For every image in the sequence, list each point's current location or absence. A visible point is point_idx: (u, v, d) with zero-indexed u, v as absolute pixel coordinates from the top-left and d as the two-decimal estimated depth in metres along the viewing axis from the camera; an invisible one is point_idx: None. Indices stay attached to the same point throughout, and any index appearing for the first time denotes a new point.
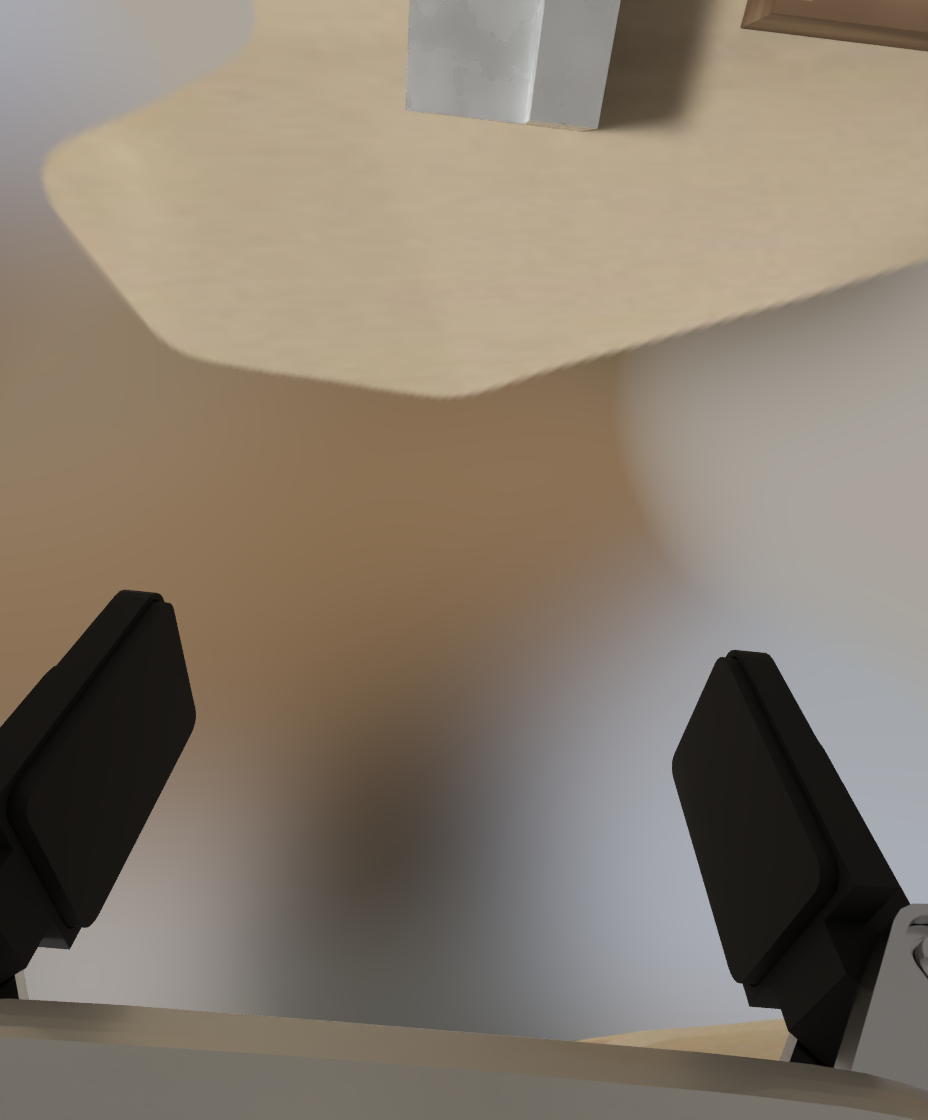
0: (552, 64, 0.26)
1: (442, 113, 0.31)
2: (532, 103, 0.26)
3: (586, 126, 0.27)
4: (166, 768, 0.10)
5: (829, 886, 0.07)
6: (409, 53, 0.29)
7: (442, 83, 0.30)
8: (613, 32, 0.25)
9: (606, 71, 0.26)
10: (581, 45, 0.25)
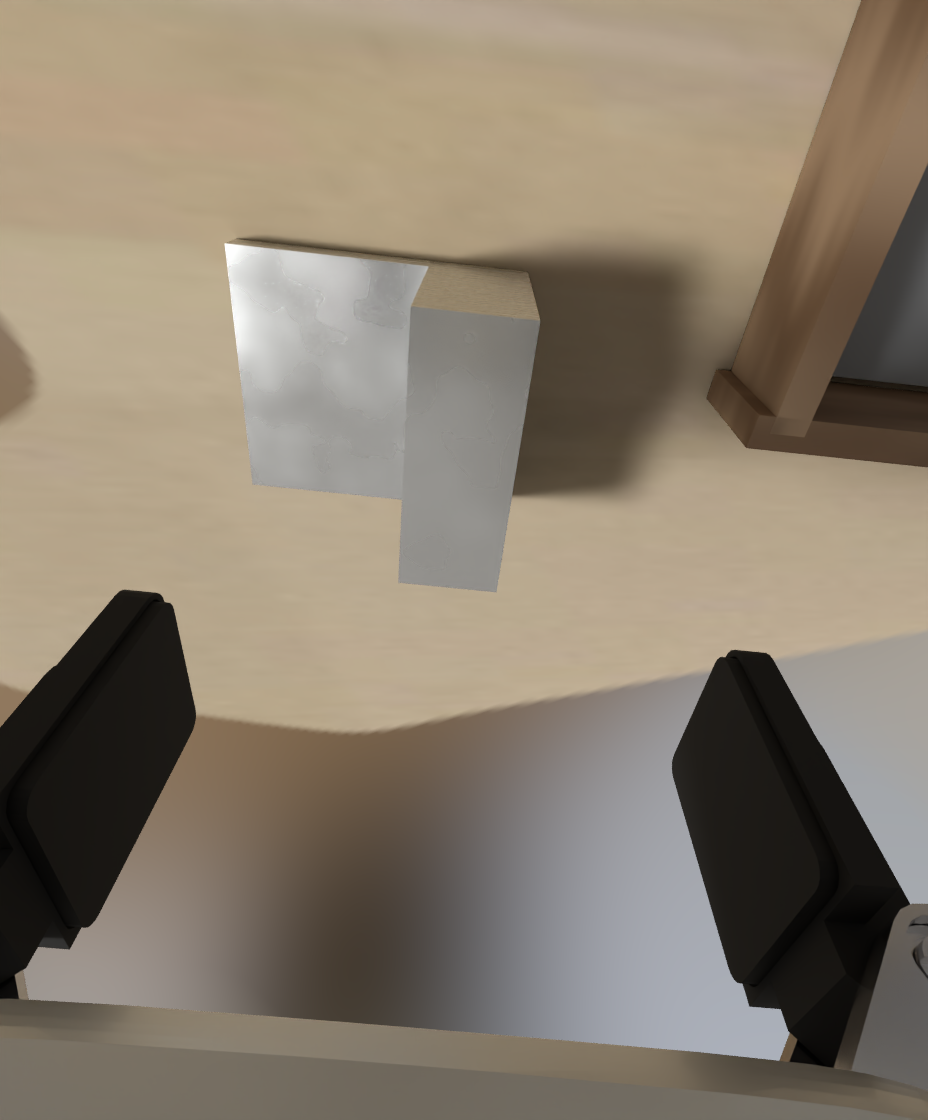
0: (424, 529, 0.17)
1: (303, 487, 0.23)
2: (400, 565, 0.18)
3: (480, 587, 0.19)
4: (166, 768, 0.10)
5: (829, 886, 0.07)
6: (248, 428, 0.21)
7: (298, 459, 0.22)
8: (508, 501, 0.17)
9: (502, 539, 0.18)
10: (463, 512, 0.17)
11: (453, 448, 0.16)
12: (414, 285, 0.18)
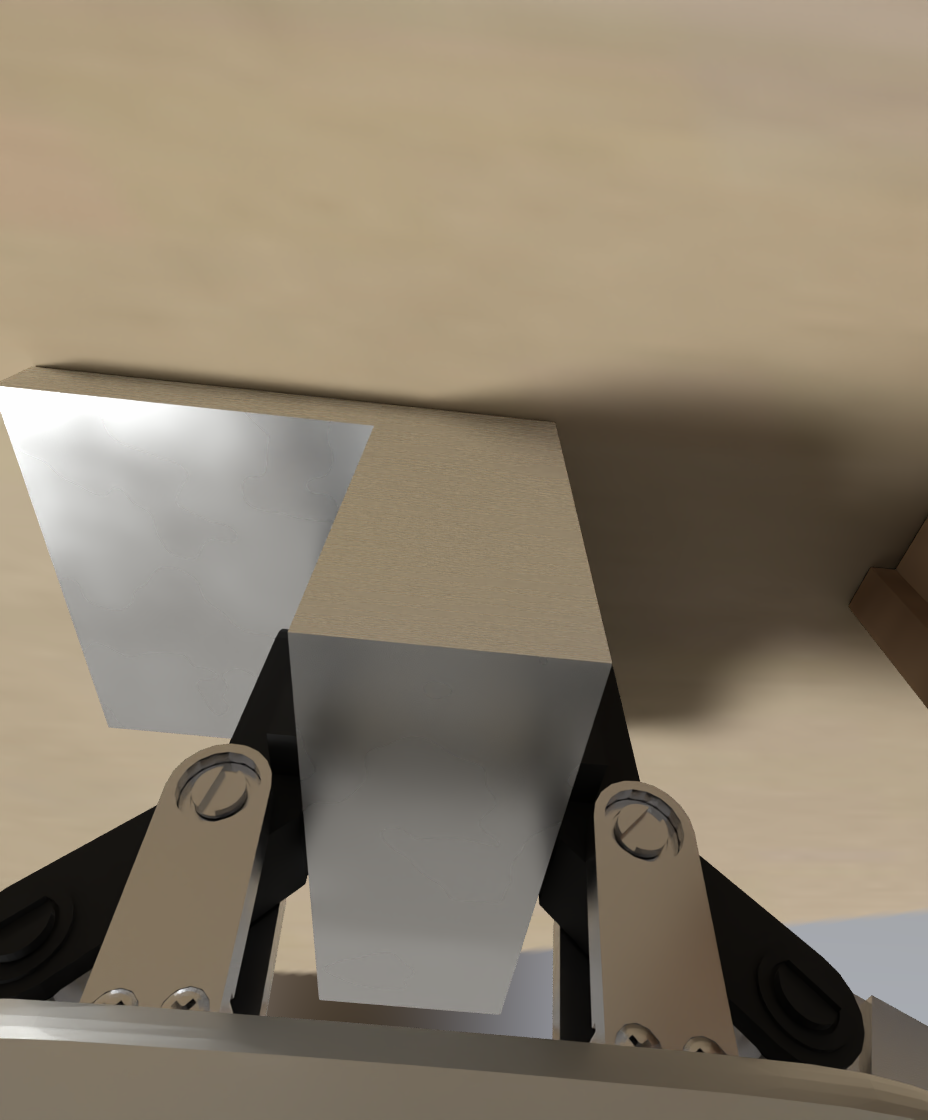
0: (359, 946, 0.09)
1: (190, 730, 0.14)
2: None
3: None
4: None
5: None
6: (89, 656, 0.13)
7: (177, 697, 0.13)
8: (526, 919, 0.08)
9: (513, 961, 0.09)
10: (435, 929, 0.09)
11: (409, 852, 0.08)
12: (349, 455, 0.10)
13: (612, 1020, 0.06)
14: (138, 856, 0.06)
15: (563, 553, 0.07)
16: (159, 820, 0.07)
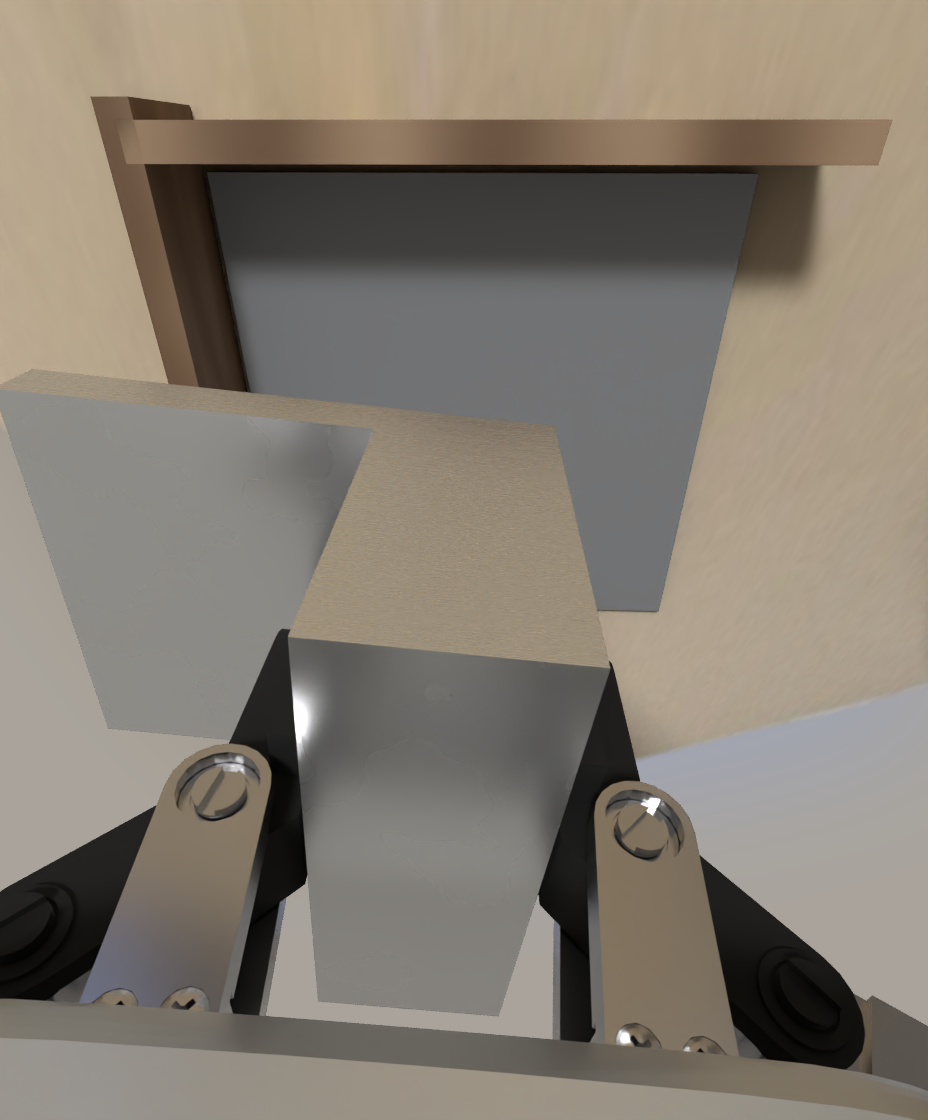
0: (358, 948, 0.09)
1: None
2: None
3: None
4: None
5: None
6: (88, 658, 0.13)
7: (176, 698, 0.13)
8: (524, 922, 0.08)
9: (511, 963, 0.09)
10: (434, 931, 0.09)
11: (408, 855, 0.08)
12: (349, 458, 0.10)
13: (612, 1021, 0.06)
14: (138, 856, 0.06)
15: (562, 557, 0.07)
16: (159, 820, 0.07)
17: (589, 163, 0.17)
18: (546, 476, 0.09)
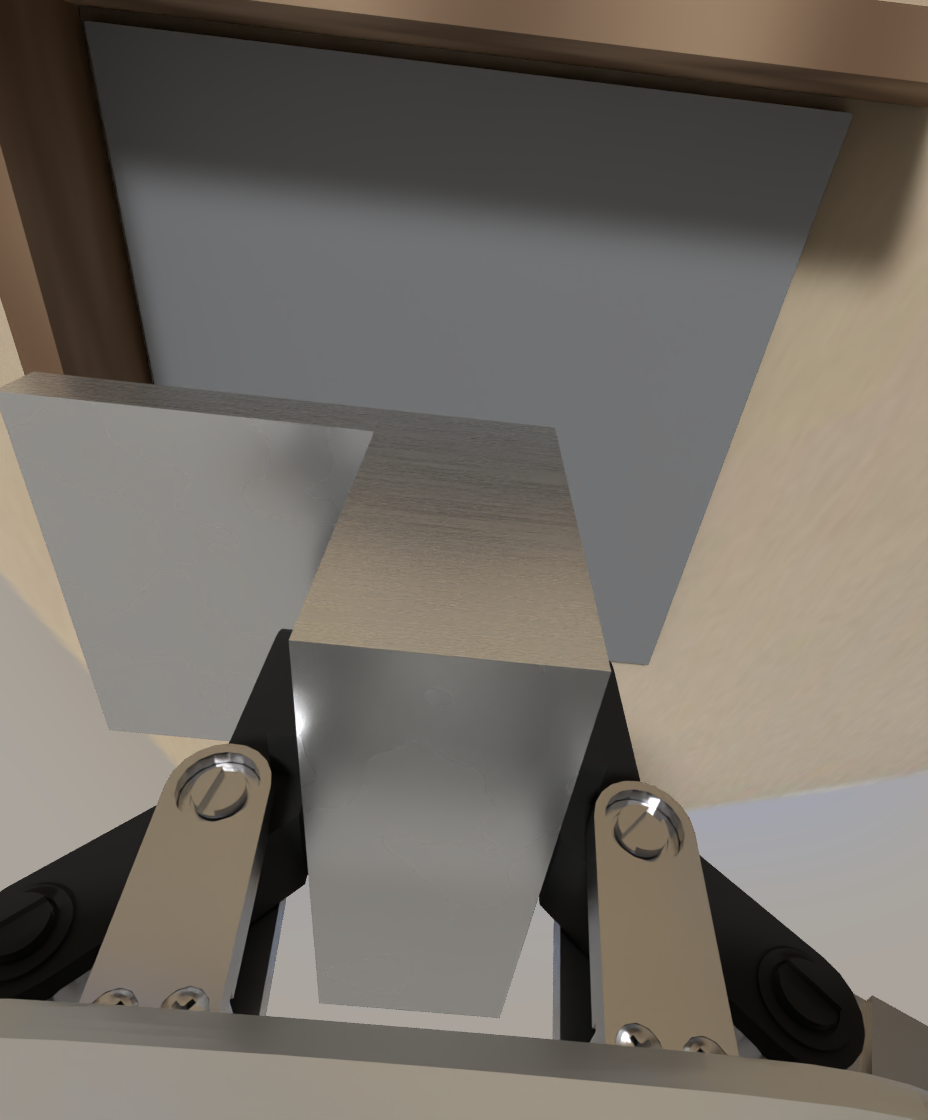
0: (359, 950, 0.09)
1: (191, 733, 0.14)
2: None
3: None
4: None
5: None
6: (90, 660, 0.13)
7: (177, 700, 0.13)
8: (525, 924, 0.08)
9: (512, 965, 0.09)
10: (434, 934, 0.09)
11: (409, 857, 0.08)
12: (350, 461, 0.10)
13: (612, 1021, 0.06)
14: (138, 856, 0.06)
15: (563, 560, 0.07)
16: (159, 820, 0.07)
17: (635, 45, 0.11)
18: (547, 478, 0.09)
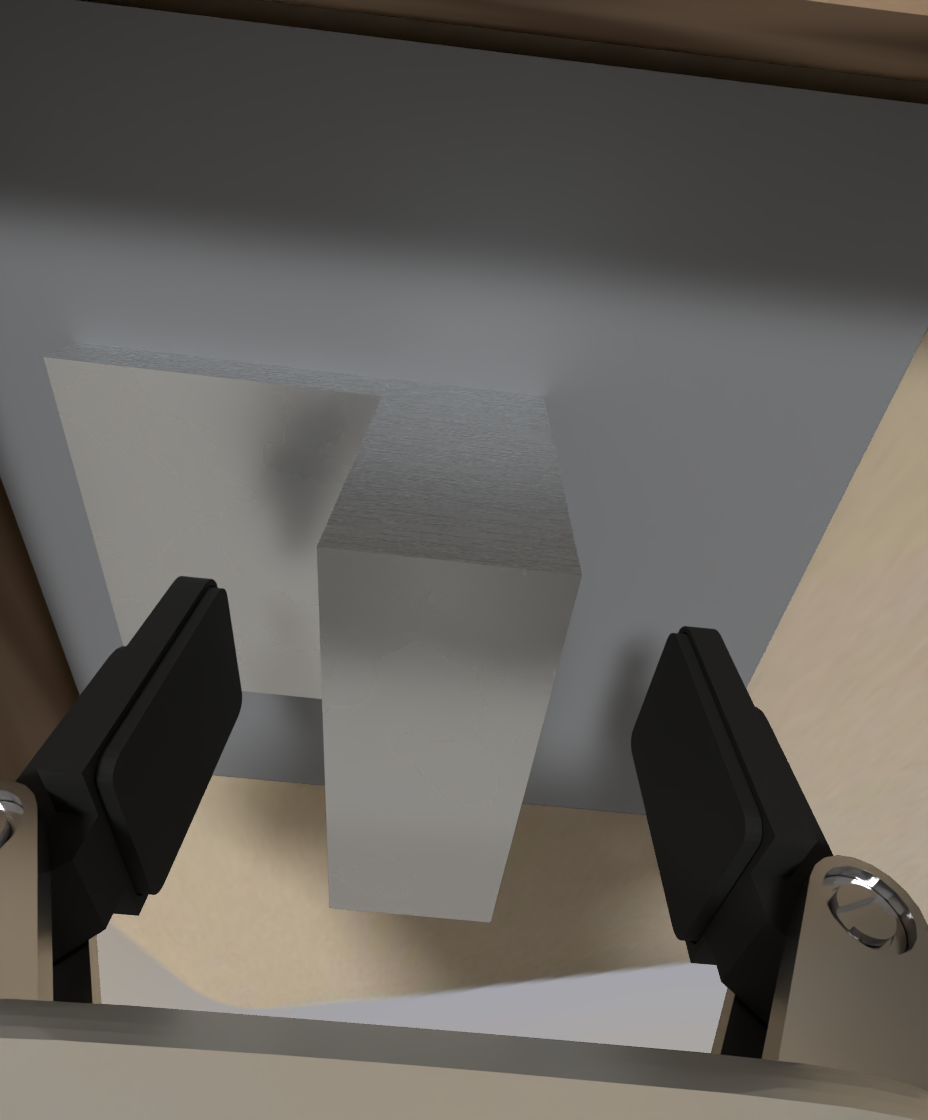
0: (367, 852, 0.10)
1: None
2: (331, 886, 0.11)
3: None
4: (218, 748, 0.11)
5: (755, 840, 0.07)
6: (117, 611, 0.14)
7: None
8: (513, 822, 0.10)
9: (501, 866, 0.10)
10: (433, 833, 0.10)
11: (413, 755, 0.09)
12: (360, 423, 0.11)
13: None
14: None
15: (546, 497, 0.08)
16: None
17: None
18: (534, 436, 0.10)
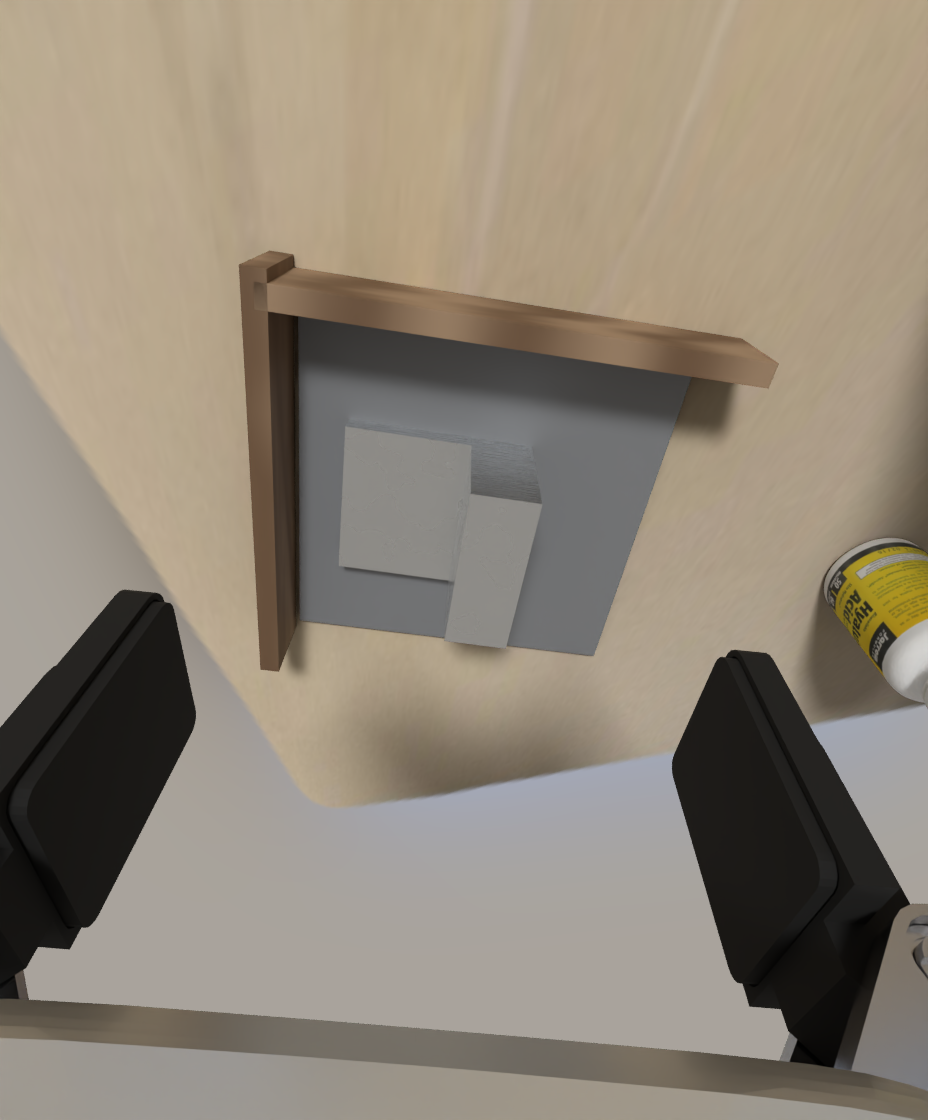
0: (464, 610, 0.28)
1: (372, 569, 0.33)
2: (446, 630, 0.29)
3: (495, 645, 0.30)
4: (166, 768, 0.10)
5: (829, 886, 0.07)
6: (342, 531, 0.32)
7: (372, 551, 0.33)
8: (517, 596, 0.28)
9: (512, 617, 0.28)
10: (489, 601, 0.28)
11: (487, 566, 0.27)
12: (461, 455, 0.29)
13: None
14: None
15: (532, 483, 0.27)
16: None
17: (582, 358, 0.24)
18: (528, 463, 0.28)
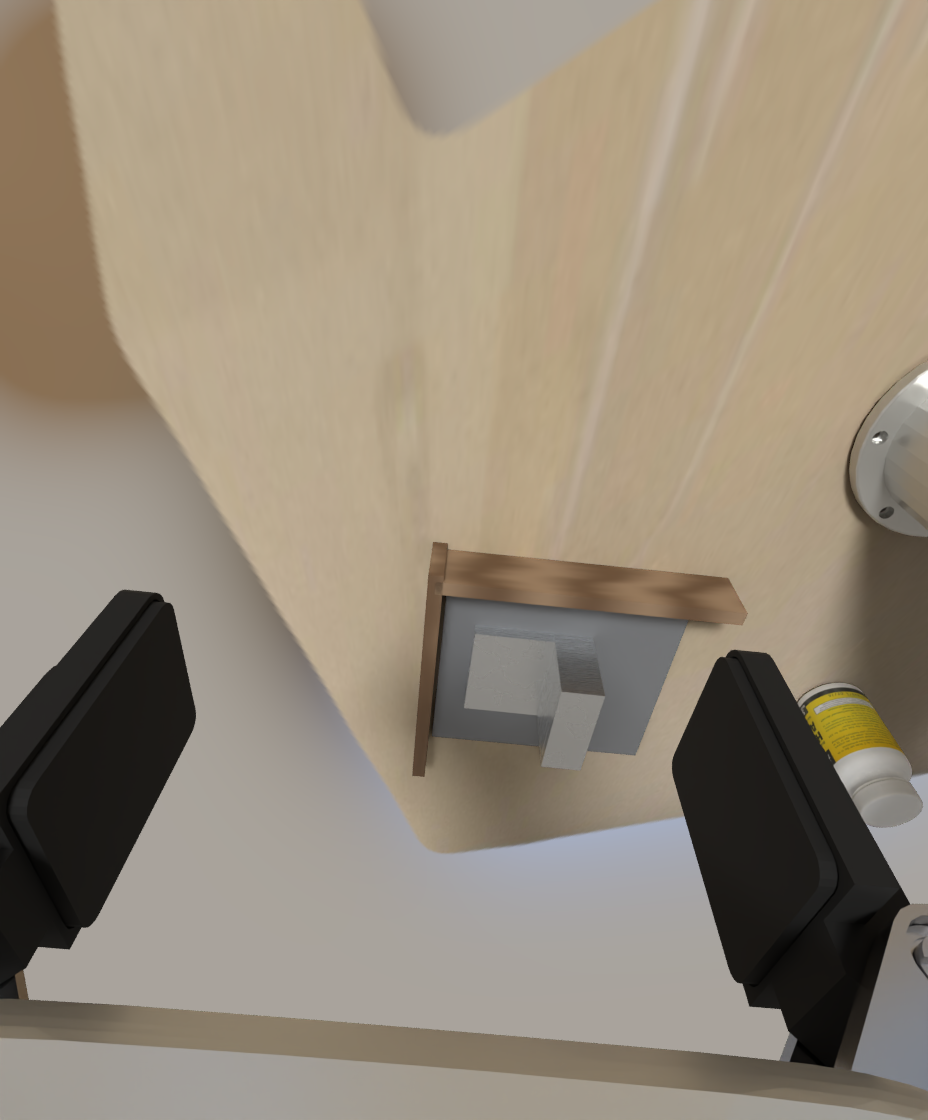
0: (554, 750, 0.45)
1: (486, 709, 0.50)
2: (542, 760, 0.46)
3: (573, 768, 0.46)
4: (166, 768, 0.10)
5: (829, 886, 0.07)
6: (467, 689, 0.49)
7: (487, 699, 0.49)
8: (588, 742, 0.44)
9: (585, 753, 0.45)
10: (570, 745, 0.44)
11: (570, 727, 0.43)
12: (548, 647, 0.46)
13: None
14: None
15: (597, 676, 0.43)
16: None
17: (627, 613, 0.41)
18: (592, 655, 0.45)
